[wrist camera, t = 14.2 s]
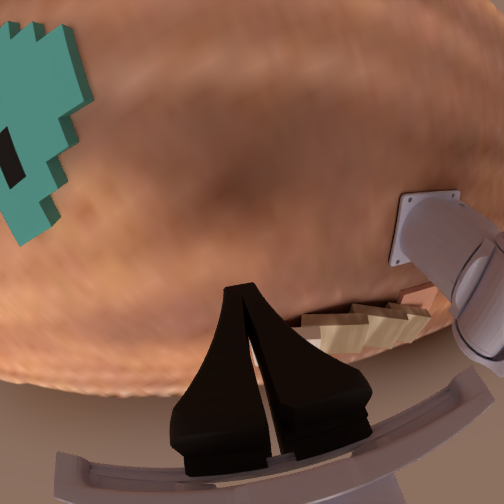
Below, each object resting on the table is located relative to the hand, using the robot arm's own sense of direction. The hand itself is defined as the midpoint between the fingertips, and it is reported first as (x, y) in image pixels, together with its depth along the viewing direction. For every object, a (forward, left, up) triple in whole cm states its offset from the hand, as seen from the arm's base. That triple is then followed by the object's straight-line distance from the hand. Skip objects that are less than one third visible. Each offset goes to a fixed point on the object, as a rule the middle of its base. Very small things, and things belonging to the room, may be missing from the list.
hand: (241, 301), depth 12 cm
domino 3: (-19, +15, -9) cm, 26 cm away
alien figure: (+18, -12, -10) cm, 24 cm away
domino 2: (-12, +15, -9) cm, 21 cm away
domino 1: (-6, +15, -9) cm, 18 cm away
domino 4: (-16, +16, -8) cm, 24 cm away
